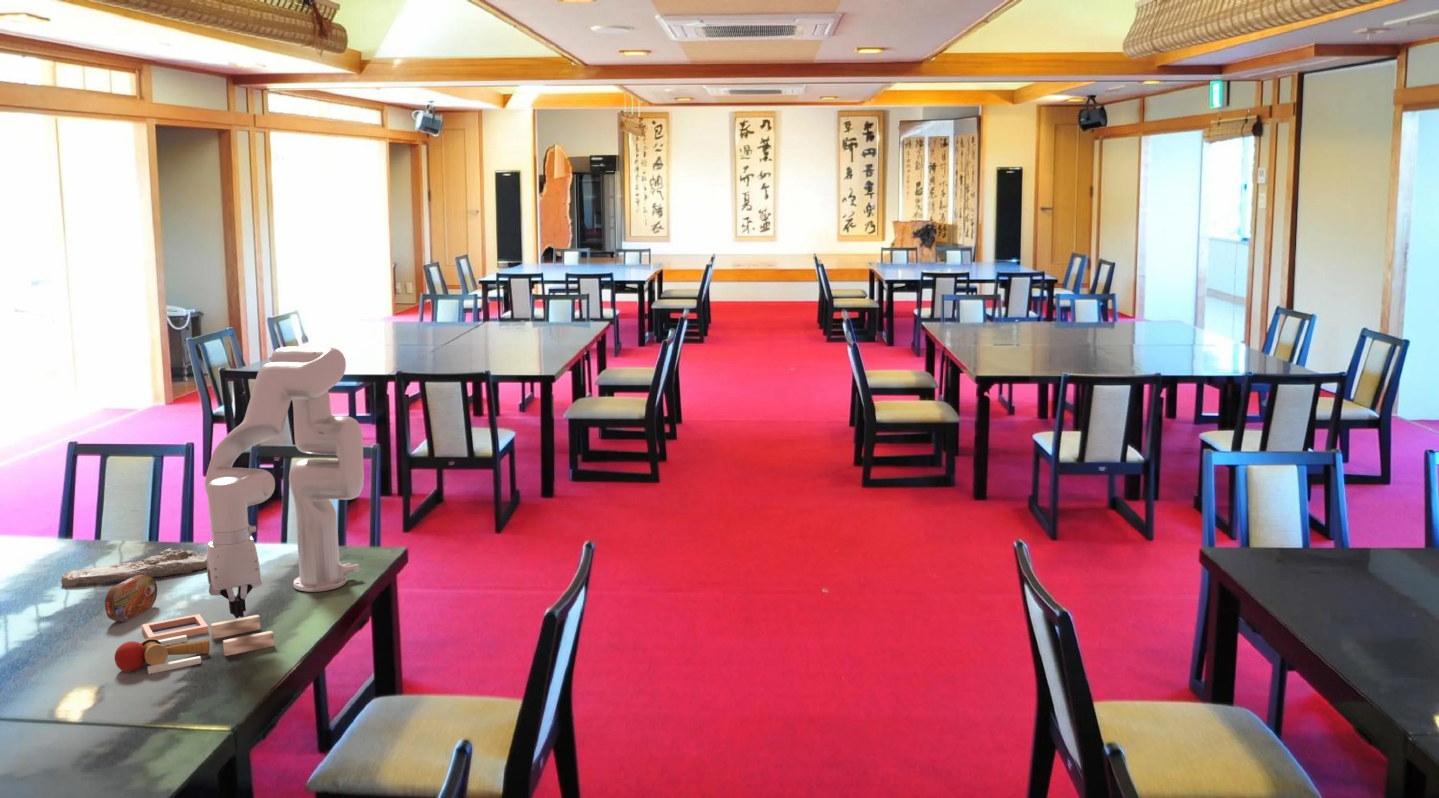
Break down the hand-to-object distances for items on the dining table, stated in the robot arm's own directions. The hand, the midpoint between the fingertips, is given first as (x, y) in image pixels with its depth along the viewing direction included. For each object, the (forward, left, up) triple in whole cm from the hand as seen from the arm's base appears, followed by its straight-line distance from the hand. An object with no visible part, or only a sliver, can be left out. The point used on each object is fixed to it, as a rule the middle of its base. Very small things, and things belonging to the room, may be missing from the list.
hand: (238, 615), depth 260 cm
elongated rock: (+10, -60, -6) cm, 61 cm away
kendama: (+16, +3, -6) cm, 17 cm away
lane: (0, +1, -6) cm, 6 cm away
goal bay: (+15, +1, -6) cm, 16 cm away
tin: (+17, -30, -6) cm, 35 cm away
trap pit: (+11, -13, -6) cm, 18 cm away
